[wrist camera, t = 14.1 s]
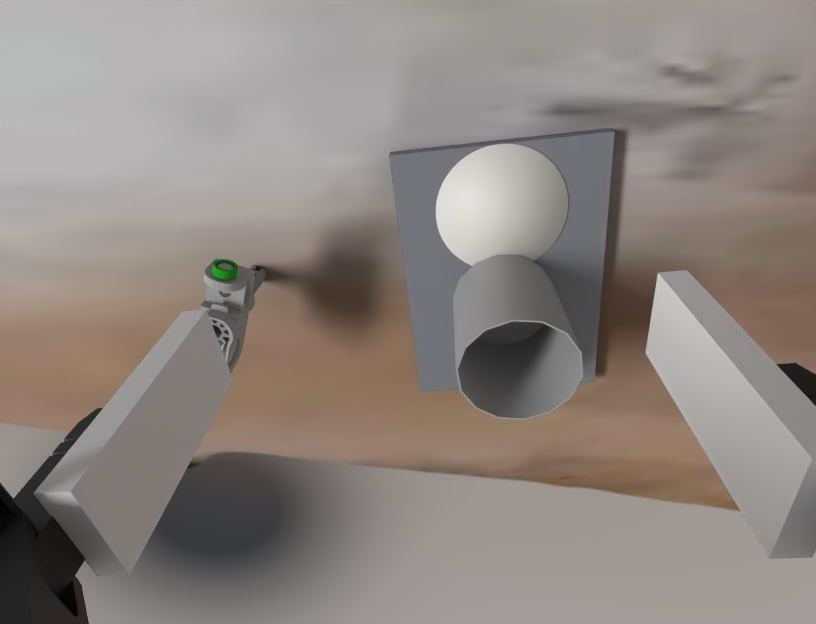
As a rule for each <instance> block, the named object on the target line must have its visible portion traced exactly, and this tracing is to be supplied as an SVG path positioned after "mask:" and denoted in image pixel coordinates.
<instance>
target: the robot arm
mask: <svg viewBox="0 0 816 624" xmlns="http://www.w3.org/2000/svg"><path fill="white" fill-rule="evenodd" d="M646 355H647V356H648V358H649V360H650V361H651V363H652V365H653V366H654V368H655V370H656V371H657V373H658V375H659V376H660V378H661V380H662V381H663V383H664V385H665V386H666V388H667V390H668V391H669V393H670V395H671V396H672V398H673V400H674V401H675V403H676V405H677V406H678V408H679V410H680V411H681V413H682V415H683V416H684V418H685V419H686V421H687V423H688V424H689V426H690V428H691V429H692V431H693V433H694V434H695V436H696V438H697V439H698V441H699V443H700V444H701V446H702V448H703V449H704V451H705V453H706V454H707V456H708V458H709V459H710V461H711V463H712V464H713V466H714V468H715V469H716V471H717V473H718V474H719V476H720V478H721V479H722V481H723V483H724V484H725V486H726V488H727V489H728V491H729V493H730V494H731V496H732V498H733V499H734V501H735V503H736V504H737V506H738V507H739V509H740V511H741V512H742V514H743V516H744V517H745V519H746V521H747V522H748V524H749V526H750V527H751V529H752V531H753V532H754V534H755V536H756V537H757V539H758V541H759V542H760V544H761V546H762V547H763V549H764V551H765V552H766V554H767V556H768V557H769V558H771V559H772V558H808V557H813V555H814V553H815V551H816V374H814V373H812V372H810V371H809V370H807V369H805V368H803V367H802V366H800V365H798V364H796V363H789V364H775V363H774V362H773V361H772V359H771V358H770V357H769V356H768V355H767V354H766V353H765V352H764V351H763V350H762V349H761V348H760V347H759V346H758V345H757V344H756V343H755V341H754V340H753V339H752V338H751V337H750V336H749V335H748V334H747V333H746V332H745V331H744V330H743V329H742V328H741V327H740V326H739V325H738V324H737V322H736V321H735V320H734V319H733V318H732V317H731V316H730V315H729V314H728V313H727V312H726V311H725V310H724V309H723V308H722V307H721V306H720V304H719V303H718V302H717V301H716V300H715V299H714V298H713V297H712V296H711V295H710V294H709V293H708V292H707V291H706V290H705V289H704V288H703V287H702V285H701V284H700V283H699V282H698V281H697V280H696V279H695V278H694V277H693V276H692V275H691V274H690V273H689V272H688V271H687V270H683V271H671V272H659V273H658V276H657V282H656V289H655V295H654V301H653V308H652V314H651V321H650V327H649V333H648V340H647V346H646ZM233 381H234V380H233V378H232V375H231V373H230V370H229V368H228V365H227V362H226V360H225V357H224V355H223V352H222V349H221V347H220V344H219V342H218V339H217V336H216V334H215V331H214V329H213V326H212V323H211V321H210V318H209V316H208V313H207V310H198V311H185V312H182V313H181V314H180V315H179V316H178V318H177V319H176V320H175V321H174V323H173V324H172V325H171V326H170V327H169V329H168V330H167V331H166V332H165V333H164V335H163V336H162V337H161V338H160V340H159V341H158V342H157V343H156V344H155V346H154V347H153V348H152V349H151V351H150V352H149V353H148V354H147V355H146V357H145V358H144V359H143V360H142V362H141V363H140V364H139V365H138V366H137V368H136V369H135V370H134V371H133V373H132V374H131V375H130V376H129V377H128V379H127V380H126V381H125V382H124V383H123V385H122V386H121V387H120V388H119V390H118V391H117V392H116V393H115V394H114V396H113V397H112V398H111V399H110V401H109V402H108V403H107V404H106V405H105V407H104V408H97V409H96V410H95V411H93V412H92V413H91V414H89V415H88V416H87V417H85V418H84V419H83V420H81V421H80V422H79V423H78V424H77V425H76V426H75V427H74V428H73V429H72V431H71V432H70V433H69V434H68V435H67V436H66V438H65V439H64V442H63V443H61V444H60V445H59V446H58V447H57V448H56V449H55V451H54V452H53V456H49V458H48V459H47V460H46V461H45V462H44V463H43V465H42V466H41V467H40V468H39V469H38V471H37V472H36V473H35V474H34V475H33V477H32V478H31V479H30V480H29V481H28V482H27V484H26V485H25V486H24V487H23V488H22V489H21V491H20V492H19V493H18V494H17V495H16V497H15V498H14V499H13V498H12V497H11V496H10V494H9V493H8V492H7V491H6V489H5V488H4V487H3V486H2V484H1V483H0V624H89V623H88V617H87V612H86V606H85V601H84V596H83V591H82V585H81V584H80V582H79V580H78V579H77V577H76V576H75V574H76V573H77V571H78V570H79V568H80V567H81V565H82V563H83V562H84V560H85V561H86V563H87V564H88V565H89V566H90V568H91V569H92V570H93V572H94V573H95V574H96V576H119V575H130V573H131V571H132V569H133V568H134V566H135V564H136V562H137V560H138V558H139V556H140V555H141V553H142V551H143V549H144V547H145V545H146V543H147V541H148V540H149V537H150V536H151V534H152V532H153V530H154V528H155V526H156V525H157V523H158V521H159V519H160V517H161V515H162V513H163V512H164V510H165V508H166V506H167V504H168V502H169V500H170V498H171V496H172V495H173V493H174V491H175V489H176V487H177V485H178V483H179V481H180V480H181V478H182V476H183V474H184V472H185V470H186V468H187V467H188V465H189V463H190V461H191V459H192V457H193V455H194V454H195V452H196V450H197V448H198V446H199V444H200V442H201V440H202V439H203V437H204V435H205V433H206V431H207V429H208V427H209V425H210V424H211V422H212V420H213V418H214V416H215V414H216V412H217V410H218V409H219V407H220V405H221V403H222V401H223V399H224V397H225V396H226V394H227V392H228V390H229V388H230V386H231V384H232V382H233Z"/></svg>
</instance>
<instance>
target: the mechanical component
mask: <svg viewBox="0 0 816 624" xmlns="http://www.w3.org/2000/svg"><path fill="white" fill-rule="evenodd" d="M265 278H266V271H265V269H260V271H256V267H255V266H251V267H250V268H245V267H242V266H239V265H237V264H236V263H235V262H233V261H230V260H224V259H221V260H219V259H215V260H214V261H213V262H212V263H211V264H210V265H209V266H208V267H207V268H206V269H205V273H204V282H205V283H206V284H207V287H206V295H205V301H204V302H203V303H202V304H201V306H200V310H207V313H208V316H209V318H210V321H211V323H212V326H213V329H214V331H215V334H216V336H217V339H218V342H219V344H220V347H221V349H222V352H223V355H224V357H225V360H226V362H227V365H228V368H229V370H230V373H231V372H232V370H233V368H234V366H235V365H236V363H237V361H238V359H239V357H240V354H241V351H242V347H243V342H244V336H245V331H246V325H247V319H248V313H249V311H250V310H251V309H252V308H253V307H254V304H255V298H254V294H255V292H256V291H257V289H258V288H259V286H260V285H261V284H262V282H263V281H264V279H265Z"/></svg>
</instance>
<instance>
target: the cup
mask: <svg viewBox="0 0 816 624" xmlns="http://www.w3.org/2000/svg"><path fill="white" fill-rule="evenodd" d="M453 312H454V338H455V363H456V373H457V379H458V384H459V389H460V392H461V393H462V394H463V395H464V396H465V397H466V399H467V400H468V401H469V402H470V403H471V404H472V405H473V406H474V408H476V409H478V410H480V411H482V412H485V413H487V414H489V415H492V416H494V417H496V418H500V419H519V420H526V419H529V418H533V417H536V416H540V415H543V414H547V413H550V412H552V411H553V410H555V409H556V408H557V407H559V406H560V405H561V404H563V403H564V402H565V401H567V400H568V399H570V398H571V397H572V395H573V393H574V392H575V390H576V388H577V386H578V384H579V382H580V381H581V379H582V377H583V366H582V352H581V350H580V347H579V345H578V343H577V340H576V338H575V335H574V333H573V331H572V328H571V326H570V323H569V321H568V318H567V316H566V314H565V311H564V309H563V306H562V304H561V302H560V299H559V297H558V294H557V292H556V290H555V287H554V285H553V282H552V281H551V280H550V278H549V277H548V275H547V274H546V272H545V271H544V269H543V268H542V267H541V266H540V265H538V264H537V263H535V262H533V261H531V260H529V259H527V258H525V257H523V256H519V255H495V256H492V257H490V258H487V259H485V260H482V261H479V262H477V263H475V264H474V265H473V266H472V267H471V268H470V269H469V270H468V271H467V272H466V273H465V274H464V275H463V276H462V277H461V278H460V279H459V281H458V284H457V287H456V290H455V293H454V296H453Z"/></svg>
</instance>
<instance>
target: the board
mask: <svg viewBox="0 0 816 624" xmlns="http://www.w3.org/2000/svg"><path fill="white" fill-rule="evenodd" d="M614 134H615V131H613V130H611V129H610V128H609V129H600V130H591V131H582V132H572V133H563V134H554V135H545V136H535V137H526V138H517V139H508V140H499V141H489V142H480V143H471V144H462V145H452V146H443V147H434V148H425V149H415V150H406V151H397V152H391V153H390V155H389V158H390V166H391V173H392V181H393V188H394V196H395V203H396V211H397V219H398V226H399V234H400V241H401V249H402V256H403V264H404V271H405V279H406V286H407V294H408V301H409V309H410V316H411V324H412V331H413V339H414V346H415V354H416V362H417V369H418V377H419V384H420V391H439V390H458V389H459V384H458V379H457V373H456V363H455V338H454V312H453V296H454V293H455V290H456V287H457V284H458V281H459V279H460V278H461V277H462V276H463V275H464V274H465V273H466V272H467V271H468V270H469V269H470V268H471V267H472V266H473V265H474V264H475V263H477V262H479V261H482V260H485V259H487V258H490V257H492V256H495V255H519V256H523V257H525V258H527V259H529V260H531V261H533V262H535V263H537V264H538V265H540V266H541V267H542V268H543V269H544V271H545V272H546V274H547V275H548V277H549V278H550V280H551V281H552V282H553V285H554V287H555V290H556V292H557V294H558V297H559V299H560V302H561V304H562V306H563V309H564V311H565V314H566V316H567V318H568V321H569V323H570V326H571V328H572V331H573V333H574V335H575V338H576V340H577V343H578V345H579V347H580V350H581V352H582V366H583V377H582V379H581V381H580V382H579V383H588V382H595V369H596V357H597V344H598V332H599V320H600V307H601V295H602V283H603V270H604V258H605V245H606V233H607V221H608V208H609V196H610V184H611V171H612V159H613V146H614Z"/></svg>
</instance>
